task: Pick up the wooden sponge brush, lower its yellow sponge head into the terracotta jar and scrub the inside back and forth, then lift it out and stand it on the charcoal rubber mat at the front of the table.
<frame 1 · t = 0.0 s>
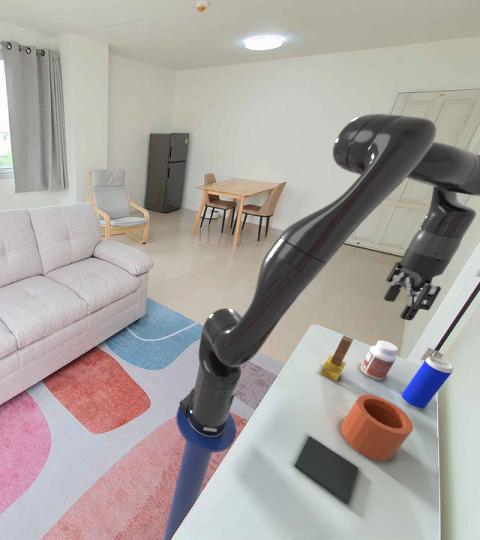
hand: (396, 309, 74), 28 cm above the table, tool pointing down, fingers open, 8 cm apart
sponge brush: (329, 374, 91), on the table
beverage can: (411, 402, 83), on the table
mat: (325, 467, 66), on the table
pill bottle: (371, 373, 93), on the table
jar: (365, 439, 72), on the table
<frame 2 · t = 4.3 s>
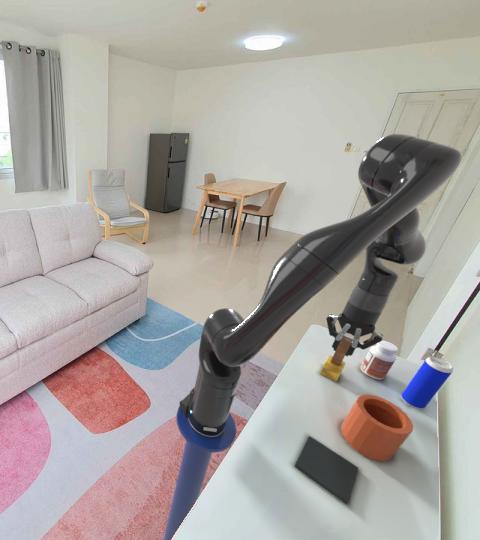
hand: (341, 351, 87), 9 cm above the table, tool pointing down, fingers closed on sponge brush, 2 cm apart
sponge brush: (329, 374, 91), on the table, touching gripper
everything else where it was.
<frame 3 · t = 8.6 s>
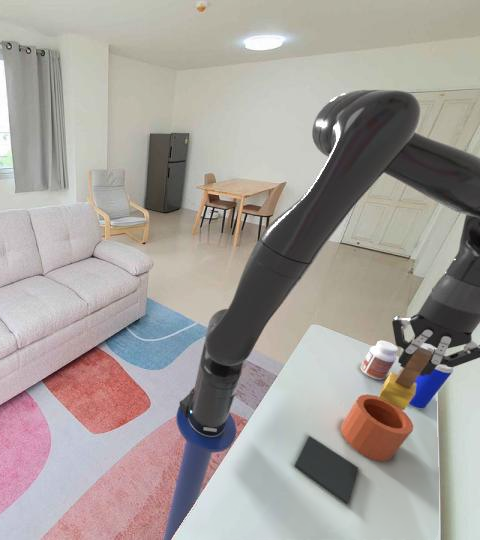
hand: (412, 369, 62), 24 cm above the table, tool pointing down, fingers closed on sponge brush, 2 cm apart
sponge brush: (391, 398, 66), point 14 cm above the table, touching gripper
everything else where it was.
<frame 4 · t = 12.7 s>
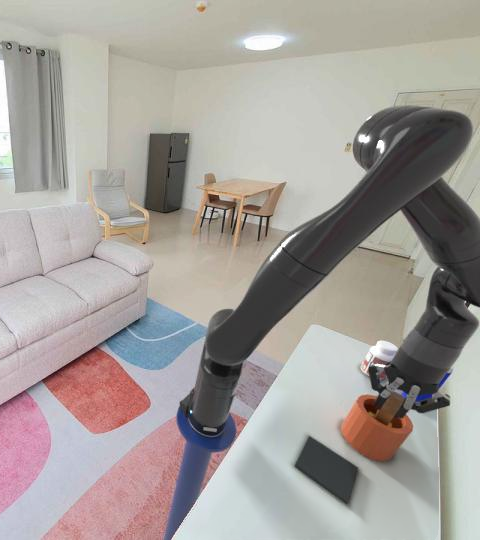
hand: (387, 411, 66), 12 cm above the table, tool pointing down, fingers closed on sponge brush, 2 cm apart
sponge brush: (369, 436, 70), point 3 cm above the table, touching gripper
everything else where it was.
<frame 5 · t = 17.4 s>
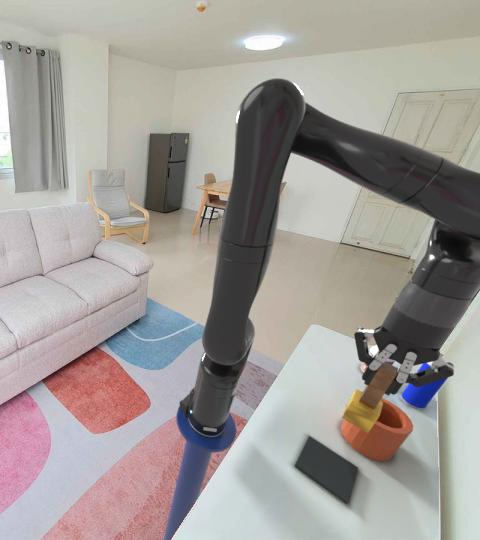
hand: (377, 387, 55), 25 cm above the table, tool pointing down, fingers closed on sponge brush, 2 cm apart
sponge brush: (356, 418, 59), point 16 cm above the table, touching gripper
everything else where it was.
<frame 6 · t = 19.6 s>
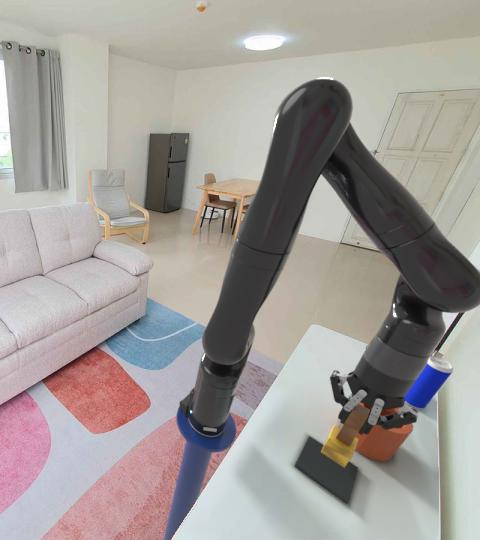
hand: (351, 425, 59), 15 cm above the table, tool pointing down, fingers closed on sponge brush, 2 cm apart
sponge brush: (334, 452, 63), point 5 cm above the table, touching gripper
everything else where it was.
when the fingers open (10 cm above the table, at t = 21.0 s): sponge brush stays where it is, resting on mat.
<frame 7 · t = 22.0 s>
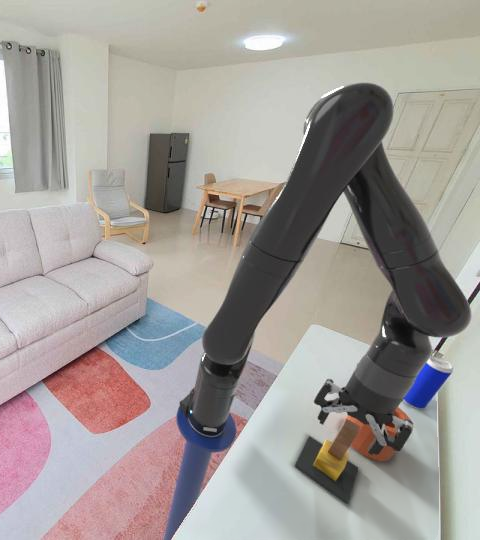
hand: (345, 435, 61), 11 cm above the table, tool pointing down, fingers open, 8 cm apart
sponge brush: (326, 466, 66), point 1 cm above the table, touching mat
everything else where it was.
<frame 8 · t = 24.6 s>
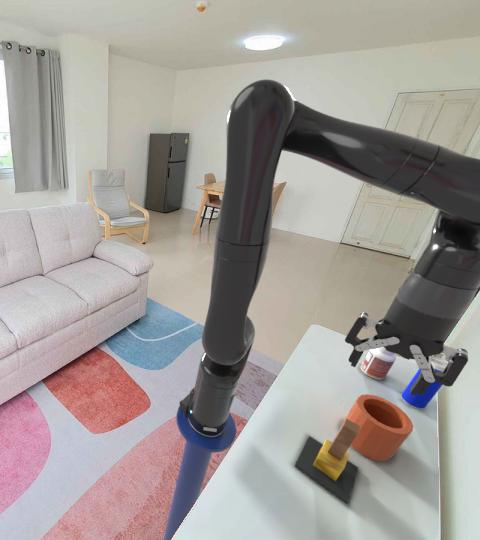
hand: (381, 377, 53), 28 cm above the table, tool pointing down, fingers open, 8 cm apart
nothing on the table moved.
at the end: sponge brush inside the target area on the mat (0.0 cm from its centre), point 0.6 cm above the mat's base; sponge brush tilted 0°; the gripper is holding nothing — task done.
